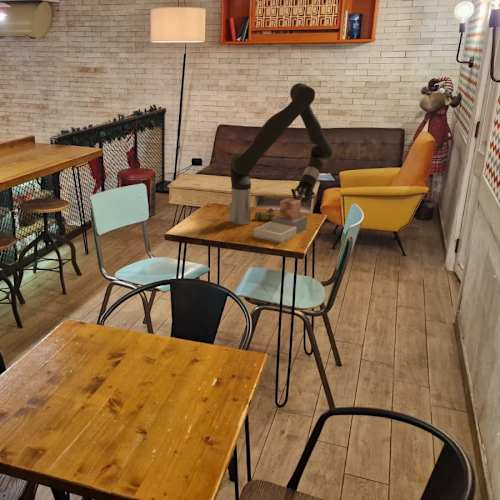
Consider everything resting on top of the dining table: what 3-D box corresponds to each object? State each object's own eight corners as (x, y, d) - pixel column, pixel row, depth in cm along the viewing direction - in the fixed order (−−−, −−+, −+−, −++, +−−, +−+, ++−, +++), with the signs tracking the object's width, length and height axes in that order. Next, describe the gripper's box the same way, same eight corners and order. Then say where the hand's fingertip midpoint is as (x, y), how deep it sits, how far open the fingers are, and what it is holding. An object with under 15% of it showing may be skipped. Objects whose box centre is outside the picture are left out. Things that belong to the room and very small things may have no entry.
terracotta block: (279, 217, 222) (280, 200, 219) (286, 214, 228) (287, 198, 225) (292, 220, 219) (293, 203, 216) (299, 216, 224) (300, 200, 221)
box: (253, 237, 213) (253, 228, 212) (269, 229, 224) (270, 221, 223) (280, 243, 206) (281, 234, 204) (296, 235, 217) (296, 227, 216)
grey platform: (271, 230, 224) (272, 217, 221) (284, 224, 233) (284, 212, 231) (294, 235, 217) (294, 222, 215) (306, 228, 227) (307, 216, 225)
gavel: (263, 204, 256) (281, 206, 254) (262, 212, 257) (281, 214, 255) (254, 212, 236) (274, 213, 234) (254, 221, 238) (274, 222, 236)
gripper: (295, 172, 233) (281, 201, 227) (320, 175, 226) (306, 205, 220) (299, 181, 239) (286, 209, 233) (323, 184, 232) (310, 214, 227)
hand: (296, 207), depth 227 cm, fingers closed
